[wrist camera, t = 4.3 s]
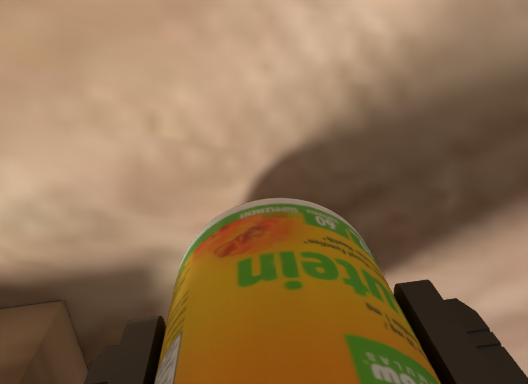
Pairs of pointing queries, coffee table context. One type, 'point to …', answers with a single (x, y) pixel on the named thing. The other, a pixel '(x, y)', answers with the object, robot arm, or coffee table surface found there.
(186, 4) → the coffee table surface
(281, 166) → the coffee table surface
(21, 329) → the plinth
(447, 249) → the coffee table surface
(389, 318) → the supplement bottle
